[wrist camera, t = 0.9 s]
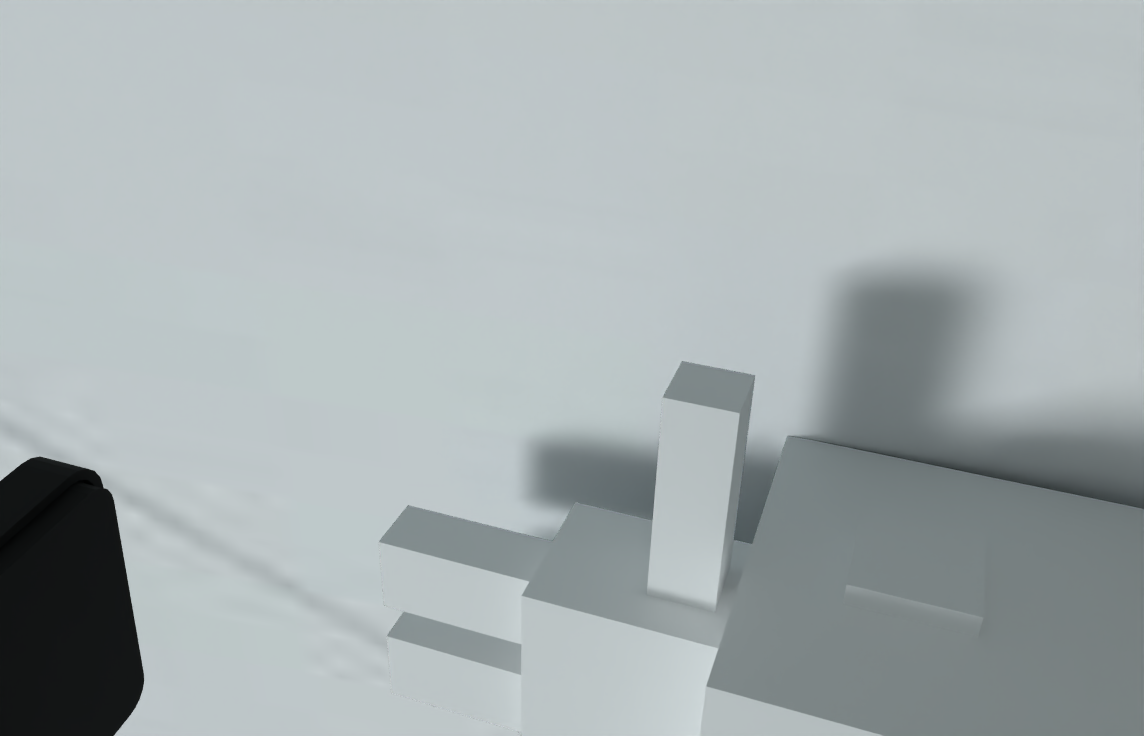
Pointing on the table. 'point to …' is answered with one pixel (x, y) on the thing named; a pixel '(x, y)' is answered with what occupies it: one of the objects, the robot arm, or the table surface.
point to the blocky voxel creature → (780, 600)
